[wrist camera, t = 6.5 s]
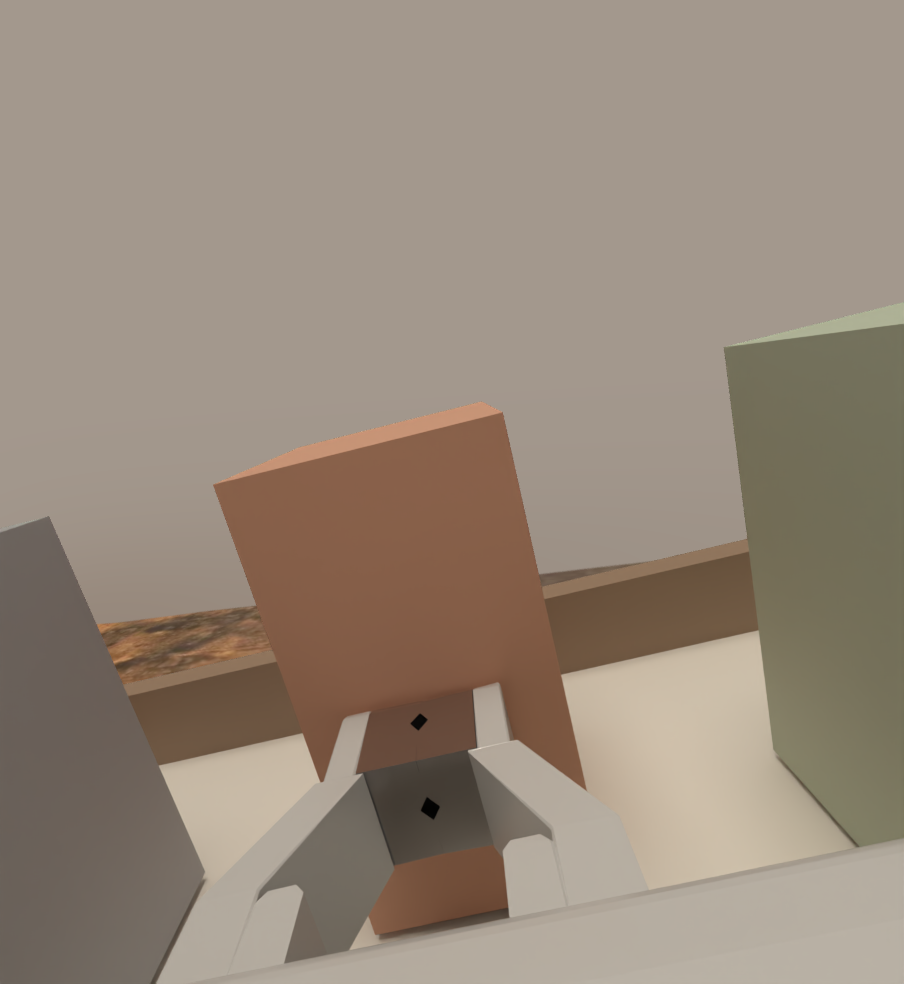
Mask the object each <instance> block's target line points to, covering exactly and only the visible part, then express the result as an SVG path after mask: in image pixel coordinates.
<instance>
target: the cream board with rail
mask: <svg viewBox="0 0 904 984" xmlns="http://www.w3.org/2000/svg"><path fill="white" fill-rule="evenodd" d="M542 591H543V596H544V600H545V605H546V609H547V614H548V618H549V623H550V627H551V632H552V636H553V641H554V645H555V650H556V654H557V659H558V663H559V668H560V672H561V677H562V681H563V686H564V690H565V695H566V699H567V704H568V708H569V713H570V717H571V722H572V726H573V731H574V735H575V740H576V744H577V749H578V753H579V758H580V762H581V767H582V771H583V776H584V780H585V785H586V789H587V792H589V793H590V794H591V795H593V796H594V797H595V798H597V799H598V800H599V801H601V802H602V803H603V804H605V805H606V806H607V807H609V808H610V809H611V810H613V811H614V812H615V813H617V814H618V815H619V816H620V819H621V821H622V824H623V826H624V829H625V831H626V834H627V836H628V839H629V841H630V844H631V846H632V849H633V851H634V854H635V856H636V859H637V861H638V864H639V866H640V869H641V871H642V874H643V876H644V879H645V881H646V884H647V886H648V889H649V890H651V889H656V888H661V887H666V886H671V885H676V884H681V883H686V882H691V881H696V880H701V879H706V878H710V877H715V876H720V875H725V874H730V873H734V872H739V871H744V870H749V869H754V868H758V867H763V866H768V865H773V864H778V863H783V862H788V861H793V860H798V859H803V858H808V857H813V856H818V855H822V854H827V853H832V852H837V851H842V850H847V849H852V848H857V847H860V846H859V845H858V844H857V843H856V842H855V841H854V839H853V838H852V837H851V836H850V835H849V834H848V833H847V832H846V831H845V829H844V828H843V827H842V826H841V825H840V824H839V823H838V822H837V820H836V819H835V818H834V817H833V816H832V815H831V814H830V813H829V811H828V810H827V809H826V808H825V807H824V806H823V805H822V804H821V803H820V801H819V800H818V799H817V798H816V797H815V796H814V795H813V794H812V792H811V791H810V790H809V789H808V788H807V787H806V786H805V785H804V783H803V782H802V781H801V780H800V779H799V778H798V777H797V776H796V774H795V773H794V772H793V771H792V770H791V769H790V768H789V767H788V766H787V764H786V763H785V762H784V761H783V760H782V759H781V758H780V757H779V755H778V754H777V753H776V752H775V751H774V750H773V743H772V735H771V727H770V719H769V710H768V702H767V694H766V686H765V678H764V670H763V662H762V653H761V645H760V637H759V629H758V621H757V613H756V605H755V596H754V588H753V580H752V572H751V564H750V556H749V548H748V539H745V540H741V541H736V542H732V543H728V544H724V545H719V546H715V547H711V548H706V549H702V550H698V551H693V552H689V553H685V554H681V555H676V556H672V557H668V558H664V559H660V560H655V561H651V562H646V563H642V564H638V565H633V566H629V567H625V568H621V569H616V570H612V571H608V572H603V573H599V574H595V575H591V576H586V577H582V578H578V579H574V580H569V581H565V582H561V583H556V584H552V585H548V586H544V587H542ZM123 686H124V688H125V690H126V693H127V695H128V697H129V700H130V702H131V704H132V706H133V709H134V711H135V713H136V715H137V718H138V720H139V722H140V725H141V727H142V729H143V731H144V734H145V736H146V738H147V740H148V743H149V745H150V747H151V750H152V752H153V754H154V756H155V759H156V761H157V763H158V765H159V768H160V770H161V772H162V775H163V777H164V779H165V781H166V784H167V786H168V788H169V790H170V793H171V795H172V797H173V800H174V802H175V804H176V806H177V809H178V811H179V813H180V816H181V818H182V820H183V822H184V825H185V827H186V829H187V831H188V834H189V836H190V838H191V841H192V843H193V845H194V847H195V850H196V852H197V854H198V856H199V859H200V861H201V863H202V866H203V868H204V870H205V874H204V876H203V878H202V880H201V882H200V884H199V886H198V888H197V890H196V892H195V894H194V896H193V898H192V900H191V902H190V904H189V906H188V908H187V910H186V912H185V914H184V916H183V918H182V920H181V922H180V924H179V926H178V928H177V930H176V932H175V934H174V936H173V938H172V940H171V942H170V944H169V946H168V948H167V951H166V953H165V955H164V957H163V959H162V961H161V963H160V965H159V967H158V969H157V971H156V973H155V975H154V977H153V979H152V981H151V983H150V984H156V983H157V981H158V979H159V977H160V975H161V973H162V971H163V969H164V967H165V965H166V963H167V961H168V959H169V957H170V955H171V952H172V950H173V948H174V946H175V944H176V942H177V940H178V938H179V936H180V934H181V932H182V930H183V928H184V926H185V924H186V922H187V920H188V918H189V916H190V914H191V912H192V909H193V907H194V905H195V903H196V902H197V901H198V900H199V899H200V898H201V897H202V896H203V895H204V894H205V893H206V892H207V891H208V890H209V889H210V888H211V887H212V886H213V885H214V884H215V883H216V882H217V881H218V880H219V879H220V878H221V877H222V876H223V875H224V874H225V873H226V872H227V871H228V870H229V869H230V868H231V867H232V866H233V865H234V864H235V863H236V862H237V861H238V860H239V859H240V858H241V857H242V856H243V855H244V854H245V853H246V852H247V851H248V850H249V849H250V848H251V847H252V846H253V845H254V844H255V843H256V842H257V841H258V840H259V839H260V838H261V837H262V836H263V835H264V834H265V833H266V832H267V831H268V830H269V829H270V828H271V827H272V826H273V825H274V824H275V823H276V822H277V821H278V820H279V819H280V818H281V817H282V816H283V815H284V814H285V813H286V812H287V811H288V810H289V809H290V808H291V807H292V806H293V805H294V804H295V803H296V802H297V801H298V800H299V799H300V798H301V797H302V796H303V795H304V794H305V793H306V792H307V791H308V790H310V789H311V788H312V787H313V786H314V785H315V784H316V783H320V780H319V778H318V775H317V772H316V769H315V766H314V764H313V761H312V758H311V755H310V753H309V750H308V747H307V744H306V741H305V739H304V736H303V733H302V730H301V728H300V725H299V722H298V719H297V716H296V714H295V711H294V708H293V705H292V703H291V700H290V697H289V694H288V691H287V689H286V686H285V683H284V680H283V678H282V675H281V672H280V669H279V666H278V664H277V661H276V658H275V655H274V653H273V650H270V651H265V652H261V653H257V654H253V655H248V656H244V657H240V658H236V659H231V660H227V661H223V662H218V663H214V664H210V665H206V666H201V667H197V668H193V669H188V670H184V671H180V672H176V673H171V674H167V675H163V676H158V677H154V678H150V679H146V680H141V681H137V682H133V683H129V684H124V685H123ZM506 918H509V908H504V909H499V910H495V911H490V912H485V913H480V914H475V915H470V916H465V917H461V918H456V919H451V920H446V921H441V922H436V923H432V924H427V925H422V926H417V927H412V928H407V929H403V930H398V931H393V932H388V933H383V934H378V935H375V933H374V930H373V928H372V925H371V922H370V919H369V917H367V919H366V921H365V923H364V924H363V926H362V928H361V930H360V931H359V933H358V935H357V937H356V939H355V940H354V942H353V944H352V946H351V947H350V949H349V950H353V949H358V948H363V947H368V946H373V945H378V944H383V943H388V942H393V941H397V940H402V939H407V938H412V937H417V936H422V935H427V934H432V933H437V932H442V931H447V930H451V929H456V928H461V927H466V926H471V925H476V924H481V923H486V922H491V921H496V920H501V919H506Z"/></svg>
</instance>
